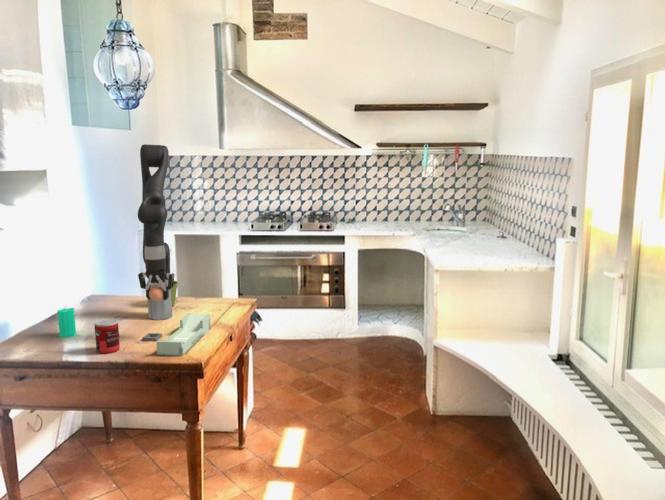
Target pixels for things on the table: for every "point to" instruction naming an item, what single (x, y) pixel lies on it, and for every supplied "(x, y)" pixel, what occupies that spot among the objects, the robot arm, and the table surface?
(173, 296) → the plant pot
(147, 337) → the grey picture frame
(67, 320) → the candle
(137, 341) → the table surface
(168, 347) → the lane
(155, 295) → the ball
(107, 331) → the canned food
